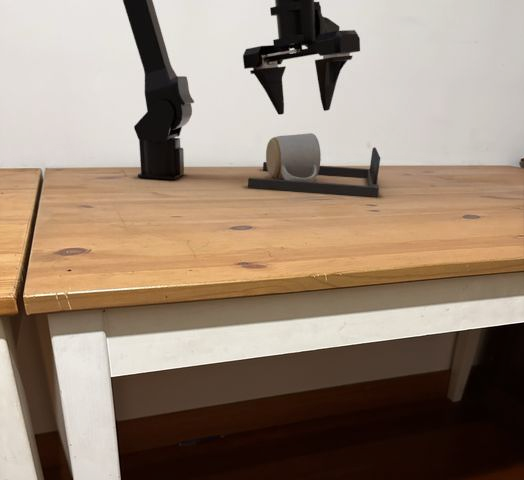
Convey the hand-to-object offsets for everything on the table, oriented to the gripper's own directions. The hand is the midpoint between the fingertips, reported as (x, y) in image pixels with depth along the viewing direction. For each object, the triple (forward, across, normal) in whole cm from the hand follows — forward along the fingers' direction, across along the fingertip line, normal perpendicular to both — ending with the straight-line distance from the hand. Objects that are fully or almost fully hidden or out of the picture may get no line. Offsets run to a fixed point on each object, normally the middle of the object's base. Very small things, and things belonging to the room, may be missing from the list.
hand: (303, 112), depth 84 cm
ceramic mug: (+11, +5, -2) cm, 12 cm away
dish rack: (+12, +2, -4) cm, 12 cm away
